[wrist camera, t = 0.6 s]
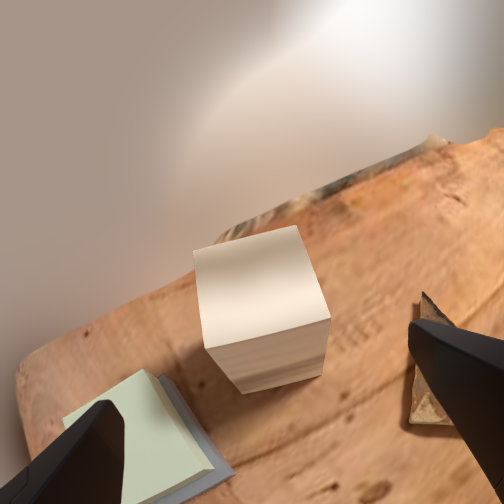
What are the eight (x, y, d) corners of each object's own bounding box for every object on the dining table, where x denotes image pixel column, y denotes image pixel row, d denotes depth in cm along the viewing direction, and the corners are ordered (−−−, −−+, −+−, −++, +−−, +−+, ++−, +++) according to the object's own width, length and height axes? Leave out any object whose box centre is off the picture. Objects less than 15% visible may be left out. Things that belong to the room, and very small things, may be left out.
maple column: (321, 374, 22) (330, 317, 14) (242, 394, 22) (204, 348, 14) (300, 307, 26) (296, 224, 18) (229, 325, 26) (192, 250, 18)
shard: (417, 299, 25) (423, 288, 24) (489, 311, 23) (498, 301, 21) (401, 424, 19) (408, 421, 18) (485, 429, 17) (496, 426, 15)
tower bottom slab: (237, 474, 19) (230, 475, 17) (143, 522, 17) (128, 526, 15) (175, 382, 24) (163, 373, 22) (94, 432, 22) (77, 426, 20)
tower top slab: (214, 468, 17) (203, 469, 15) (125, 513, 15) (106, 516, 13) (157, 378, 22) (143, 368, 20) (81, 425, 20) (62, 418, 18)
